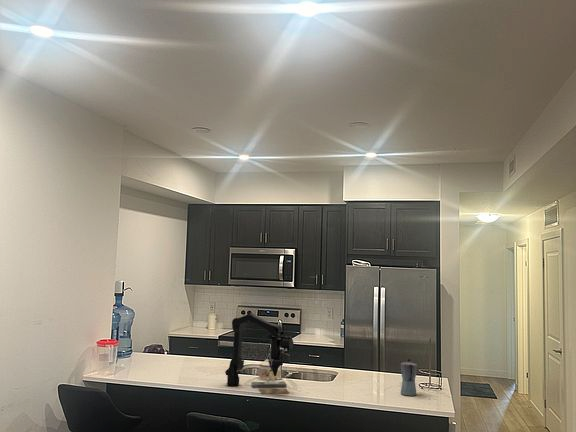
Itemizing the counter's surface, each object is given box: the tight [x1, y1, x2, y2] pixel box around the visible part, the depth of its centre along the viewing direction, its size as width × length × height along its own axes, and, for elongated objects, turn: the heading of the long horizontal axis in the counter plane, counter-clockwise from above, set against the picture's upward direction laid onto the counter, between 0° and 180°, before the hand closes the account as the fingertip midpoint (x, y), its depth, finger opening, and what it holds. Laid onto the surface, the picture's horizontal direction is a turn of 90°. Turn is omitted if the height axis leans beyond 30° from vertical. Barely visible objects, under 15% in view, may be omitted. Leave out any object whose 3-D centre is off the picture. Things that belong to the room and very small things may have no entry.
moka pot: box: [400, 358, 418, 397], centre depth 310 cm, size 10×15×20 cm, turn 2°
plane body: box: [250, 378, 287, 389], centre depth 318 cm, size 20×7×5 cm, turn 101°
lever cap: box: [269, 369, 281, 379], centre depth 307 cm, size 6×5×4 cm
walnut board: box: [258, 387, 290, 395], centre depth 306 cm, size 16×10×1 cm, turn 101°
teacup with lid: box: [258, 358, 274, 381], centre depth 339 cm, size 12×9×12 cm
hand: (274, 375), depth 307 cm, fingers closed on lever cap, 5 cm apart
